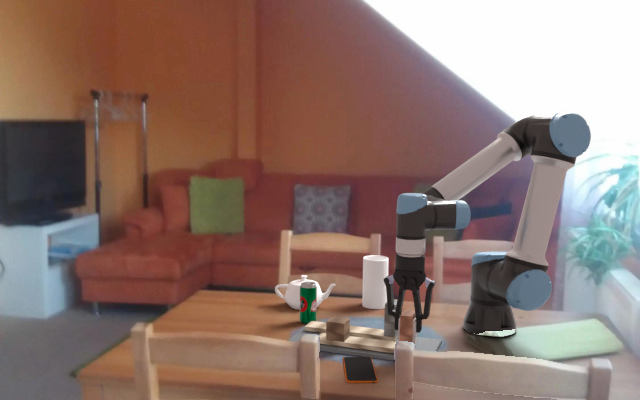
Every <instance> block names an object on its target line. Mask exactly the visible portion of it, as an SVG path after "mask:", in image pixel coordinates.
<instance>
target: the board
mask: <svg viewBox="0 0 640 400" xmlns="http://www.w3.org/2000/svg"><path fill="white" fill-rule="evenodd" d="M304 334H317V335H320V334H321V332H313V331H305V326H304V327H303V328H302V329H300V330H299V331H297V333H295V334H294V335H293V336H292V337H290V338H289V339H288V340H289V341H298V340H299V339H300V337H301V336H302V335H304ZM397 341H398V338H397V339H396V341H395V342H397ZM442 343H443V341H442V339H437V338H429V337H421V336H417V344H416V345H415V349H416V350H426V351H437V350H438V351H439V350H440V347H441V345H442ZM438 351H437V352H438ZM320 352H329V353H335V354H342V355H348V354H349V355H350V356H355V357H371V358H372V359H379V360H388V361H393V360H394V353H387V352H380V351H372V350H365V349H357V348H349V347H342V346H334V345H326V344H320Z"/></svg>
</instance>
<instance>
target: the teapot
mask: <svg viewBox="0 0 640 400" xmlns="http://www.w3.org/2000/svg"><path fill="white" fill-rule="evenodd" d="M300 278H301V279H295V280H292V281H290V282H289V283H283V284H282V283H281V284H277V285H276V286H274V292H275V294H276V295H277V296H278V297H279V298H281V299H283V300H285V302H286V304H287V305H288V306H289V307H290V308H291V309H294V310H299V311H300V286H301V283H302V282H306V281H310V282H315V283H316V286H317V308H318V306H319V305H321V304H322V303H323V301H324V300H326V299H327V298H328V297H329V296H330V295H331V292H332V290H333V288H334V287H335V286H336V285H337V284H336V283H331V284H329V286H328V288H327V289H326V291H325V292H322V289H321V286H320V284H319V282H318V281H316V280H313V279H307V278H308V275H307V274H301V275H300ZM279 288H286V291H285V294H282V293H281V292H280V290H279Z"/></svg>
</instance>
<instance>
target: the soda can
mask: <svg viewBox="0 0 640 400" xmlns="http://www.w3.org/2000/svg"><path fill="white" fill-rule="evenodd" d="M317 308H318V307H317V286H316V283H315V282H310V281H306V282H302V283H301V286H300V310H299V321H300V323H301V324H304V325H307V324H308V323H310V322H311V321H317Z"/></svg>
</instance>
